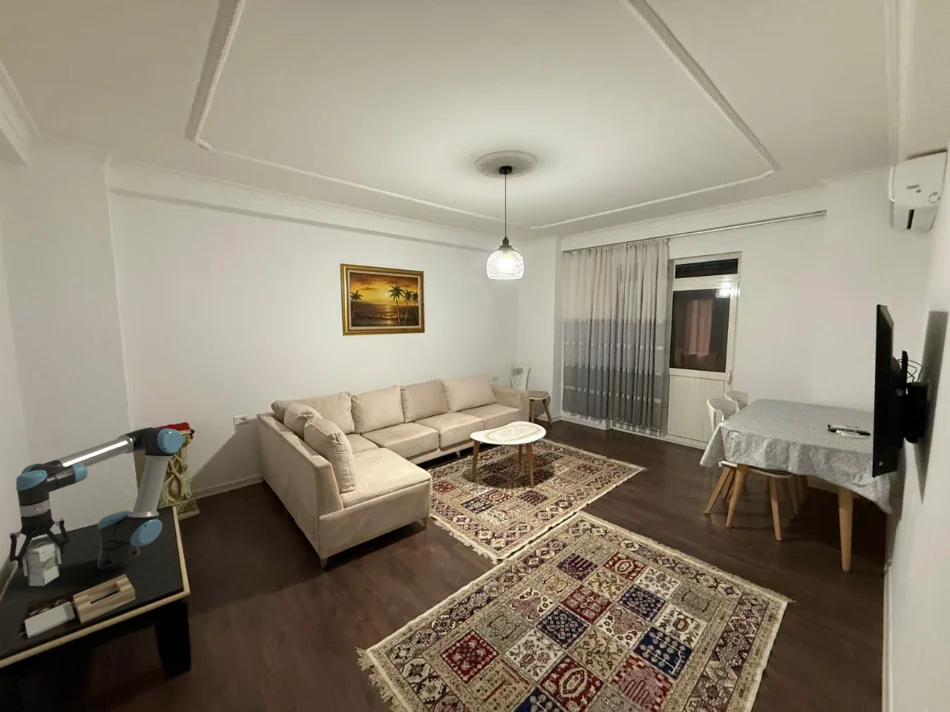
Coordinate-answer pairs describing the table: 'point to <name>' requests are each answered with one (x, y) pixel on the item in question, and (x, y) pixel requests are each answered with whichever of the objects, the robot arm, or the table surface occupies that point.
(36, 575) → the syrup box
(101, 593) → the socket block
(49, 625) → the mat
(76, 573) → the table surface
